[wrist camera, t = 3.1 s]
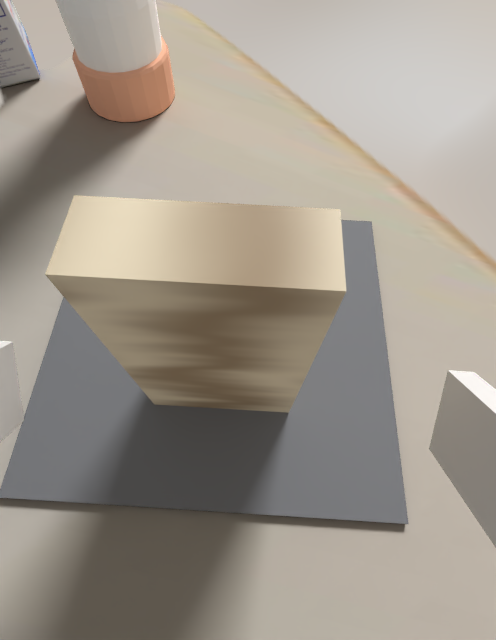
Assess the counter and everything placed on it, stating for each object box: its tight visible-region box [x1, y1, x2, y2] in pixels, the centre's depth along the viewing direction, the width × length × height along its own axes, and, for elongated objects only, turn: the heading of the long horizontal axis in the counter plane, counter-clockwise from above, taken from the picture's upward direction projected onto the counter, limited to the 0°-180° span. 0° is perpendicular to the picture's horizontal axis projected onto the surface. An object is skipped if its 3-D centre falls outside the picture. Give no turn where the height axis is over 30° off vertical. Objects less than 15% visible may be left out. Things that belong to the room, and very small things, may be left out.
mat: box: [0, 220, 408, 524], centre depth 21 cm, size 19×18×1 cm
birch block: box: [45, 195, 346, 413], centre depth 15 cm, size 7×2×12 cm, turn 87°
